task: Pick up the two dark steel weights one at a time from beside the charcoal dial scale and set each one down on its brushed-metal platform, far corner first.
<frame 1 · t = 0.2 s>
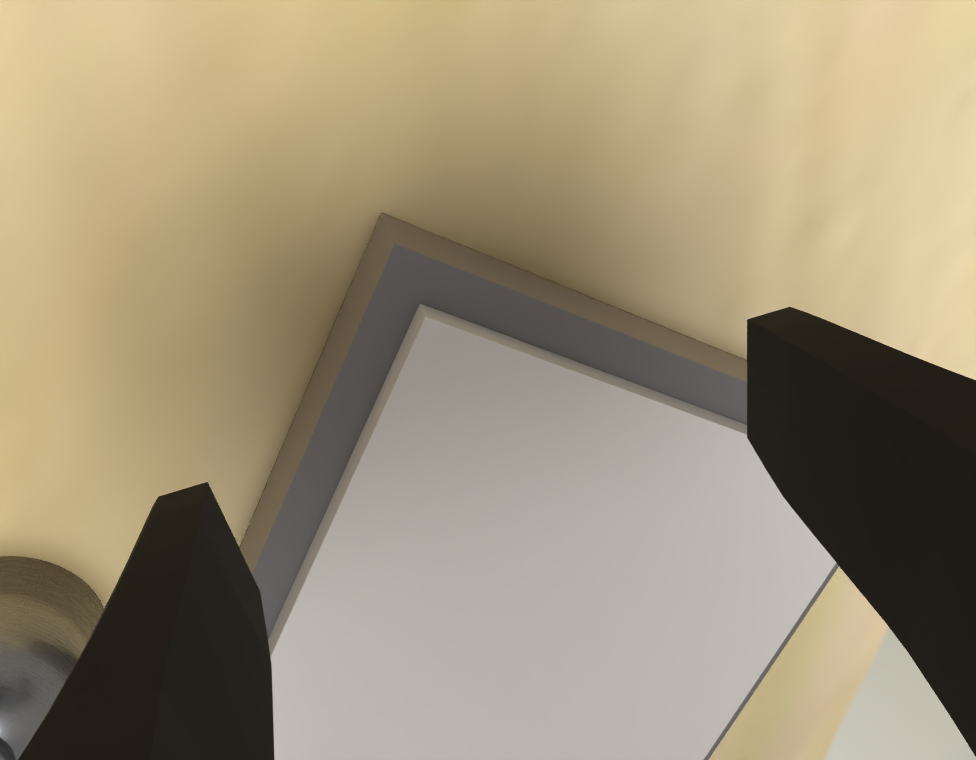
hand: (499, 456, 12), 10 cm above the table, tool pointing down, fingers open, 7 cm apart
scale: (523, 553, 26), on the table
weight b: (14, 627, 23), on the table
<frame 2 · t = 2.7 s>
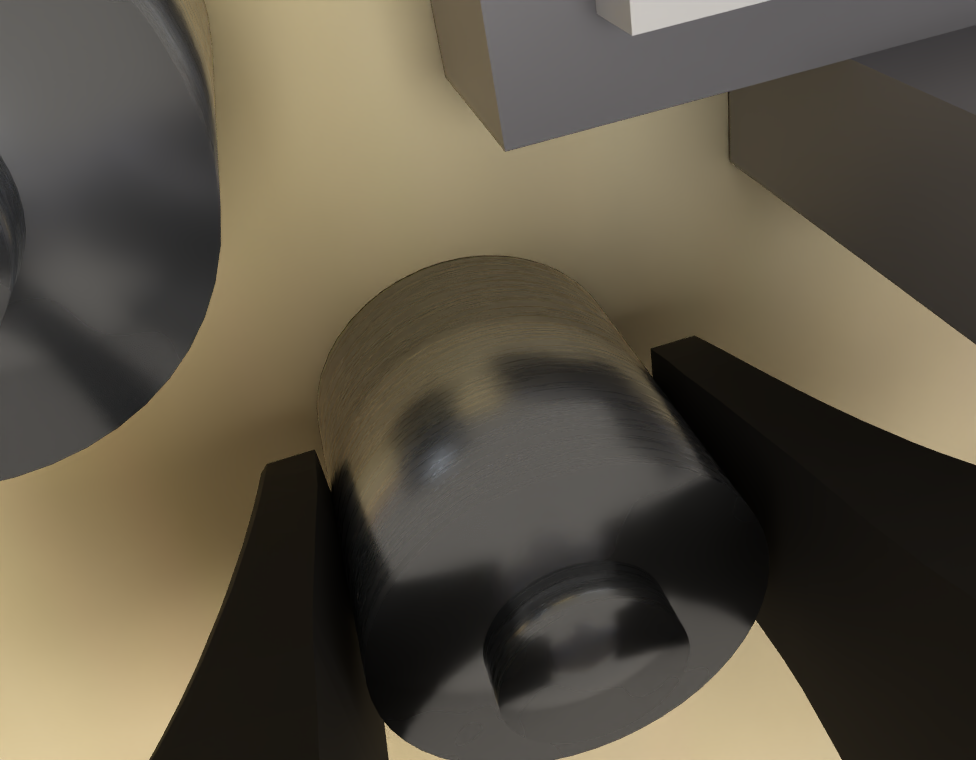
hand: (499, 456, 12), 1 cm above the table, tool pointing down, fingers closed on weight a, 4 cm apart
weight a: (472, 396, 13), on the table, touching gripper
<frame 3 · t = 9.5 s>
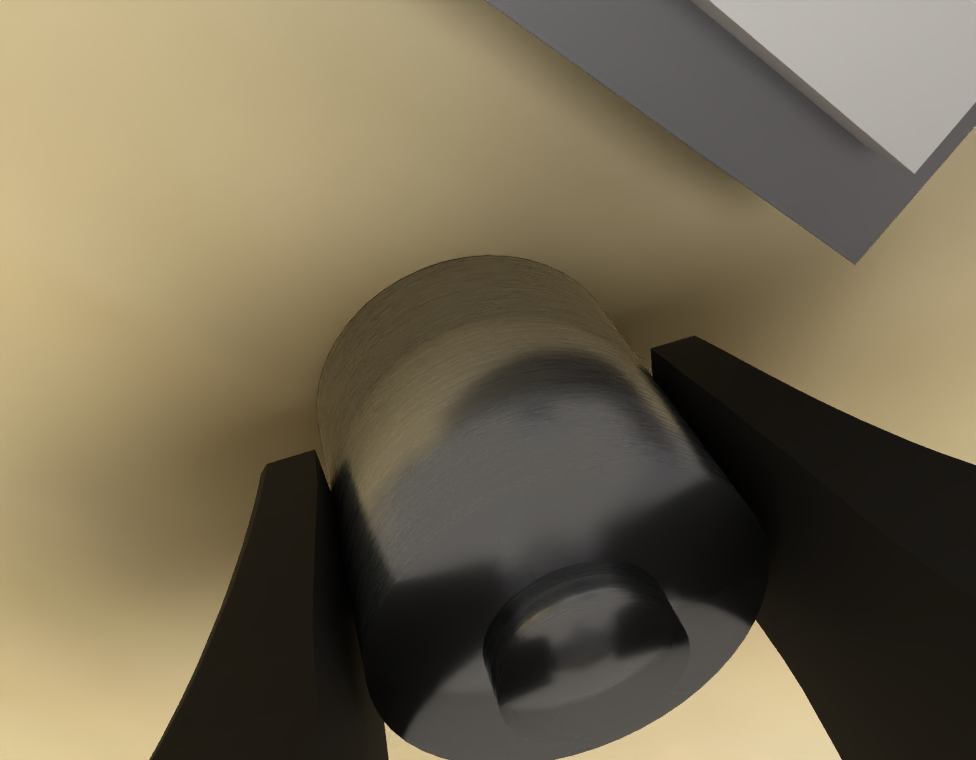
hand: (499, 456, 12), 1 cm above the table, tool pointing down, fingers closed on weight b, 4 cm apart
weight b: (472, 396, 13), on the table, touching gripper
when the fingers open (6 cm above the table, at t = 12.3 s): weight b stays where it is, resting on scale.
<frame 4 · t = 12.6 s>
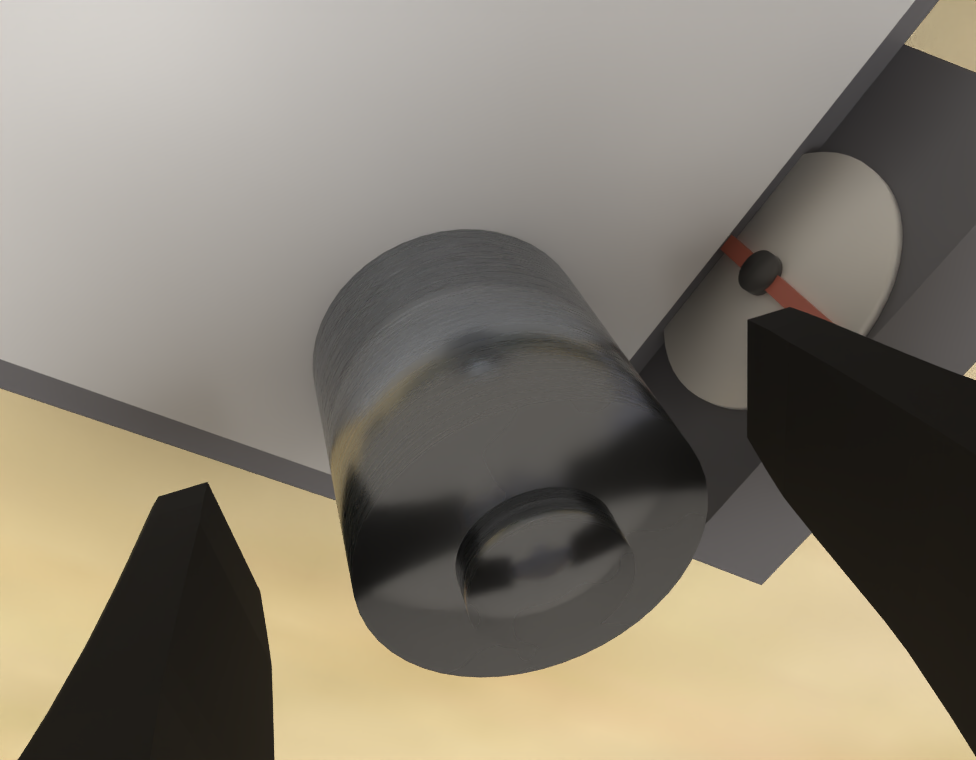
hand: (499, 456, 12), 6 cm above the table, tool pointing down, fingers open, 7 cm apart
weight b: (453, 358, 14), point 3 cm above the table, touching scale
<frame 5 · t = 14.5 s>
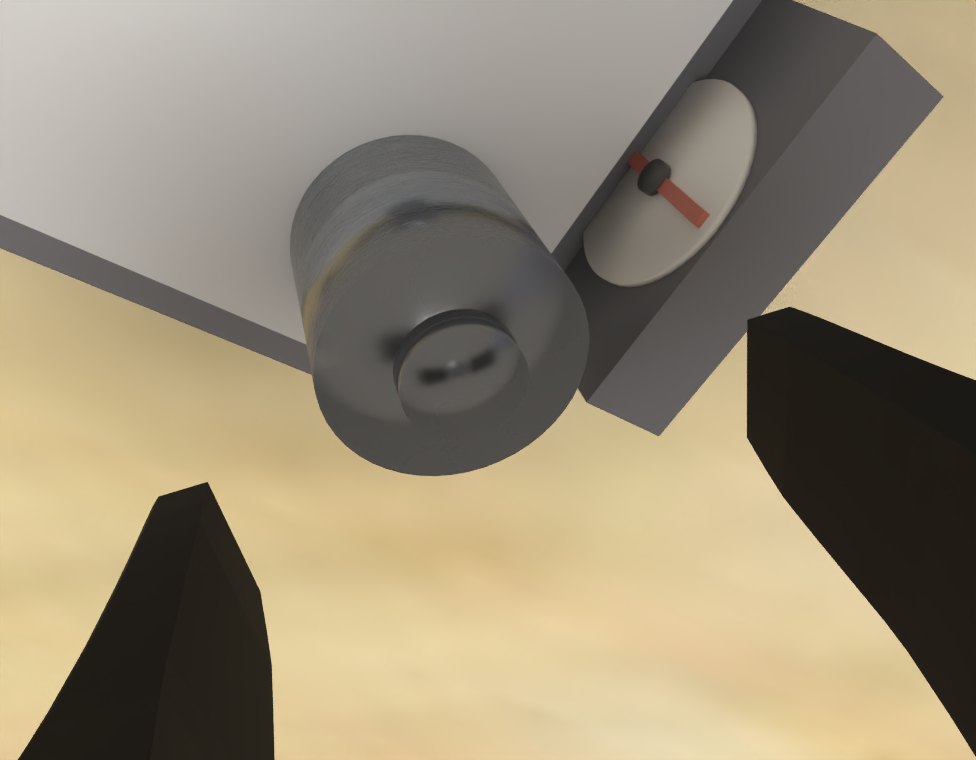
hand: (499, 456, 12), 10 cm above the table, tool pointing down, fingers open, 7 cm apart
weight b: (404, 245, 18), point 3 cm above the table, touching scale
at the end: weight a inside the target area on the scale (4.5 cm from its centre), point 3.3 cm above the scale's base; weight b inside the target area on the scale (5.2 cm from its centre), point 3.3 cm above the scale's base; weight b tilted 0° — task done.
